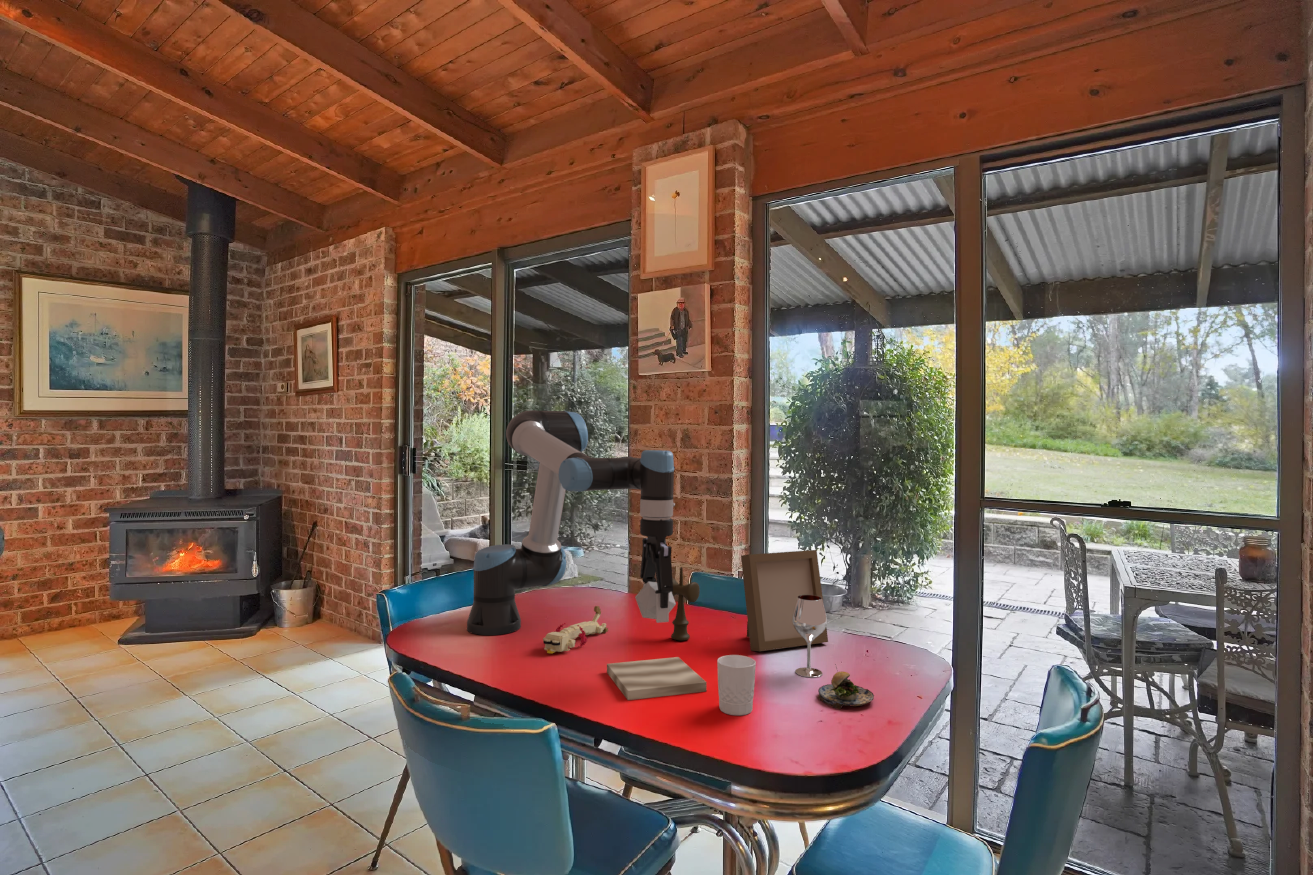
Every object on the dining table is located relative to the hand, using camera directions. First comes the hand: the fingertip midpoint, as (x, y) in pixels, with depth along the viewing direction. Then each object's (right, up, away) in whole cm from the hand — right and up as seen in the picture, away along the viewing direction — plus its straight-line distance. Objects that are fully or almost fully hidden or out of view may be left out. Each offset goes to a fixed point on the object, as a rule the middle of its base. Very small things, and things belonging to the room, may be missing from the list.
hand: (655, 616), depth 158 cm
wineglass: (+37, -16, +7) cm, 40 cm away
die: (0, 0, 0) cm, 0 cm away
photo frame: (+34, -15, +31) cm, 49 cm away
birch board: (0, -15, 0) cm, 15 cm away
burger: (+41, -16, -9) cm, 45 cm away
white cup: (+17, -15, -15) cm, 27 cm away
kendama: (+7, -15, +33) cm, 37 cm away
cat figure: (-22, -15, +28) cm, 39 cm away
